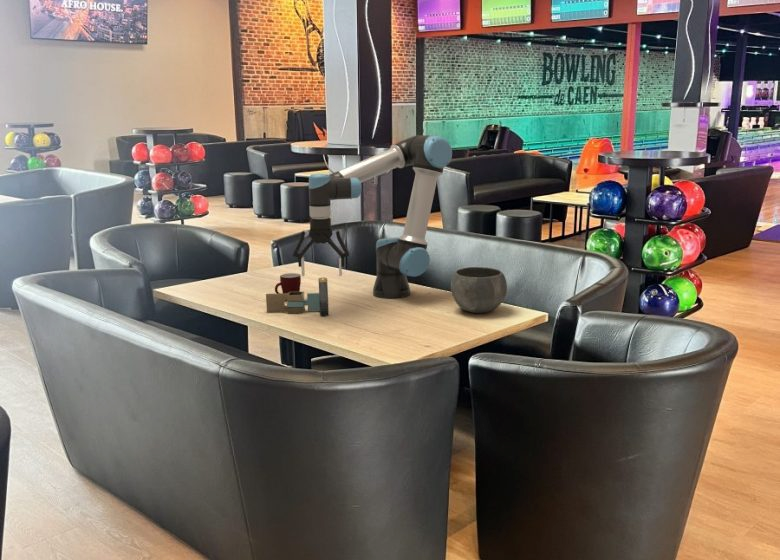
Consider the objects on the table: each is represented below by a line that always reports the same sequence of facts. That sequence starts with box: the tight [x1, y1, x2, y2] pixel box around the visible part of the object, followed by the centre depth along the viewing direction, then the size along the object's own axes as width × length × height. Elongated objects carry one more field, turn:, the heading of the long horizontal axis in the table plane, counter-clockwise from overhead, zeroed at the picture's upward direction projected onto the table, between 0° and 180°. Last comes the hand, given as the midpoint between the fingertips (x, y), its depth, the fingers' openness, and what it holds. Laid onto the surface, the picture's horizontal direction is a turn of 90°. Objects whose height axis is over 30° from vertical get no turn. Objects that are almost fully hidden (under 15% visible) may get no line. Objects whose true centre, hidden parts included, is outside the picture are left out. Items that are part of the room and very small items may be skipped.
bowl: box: [450, 266, 508, 314], centre depth 286 cm, size 20×20×15 cm
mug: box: [274, 272, 302, 294], centre depth 307 cm, size 10×8×10 cm
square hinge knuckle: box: [265, 291, 306, 315], centre depth 290 cm, size 14×6×7 cm, turn 90°
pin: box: [317, 277, 330, 318], centre depth 284 cm, size 3×3×14 cm
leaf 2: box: [286, 292, 320, 312], centre depth 290 cm, size 14×6×7 cm, turn 90°
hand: (321, 275), depth 282 cm, fingers open, 13 cm apart
